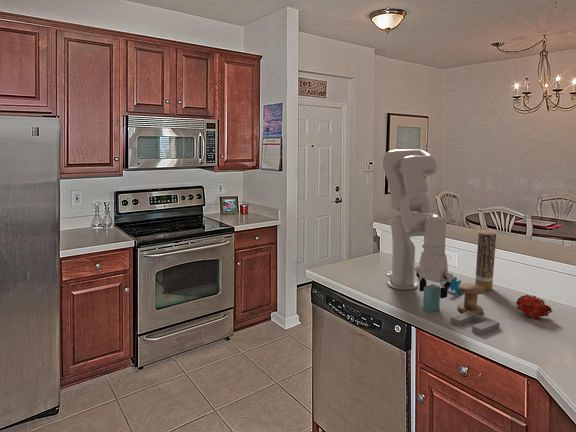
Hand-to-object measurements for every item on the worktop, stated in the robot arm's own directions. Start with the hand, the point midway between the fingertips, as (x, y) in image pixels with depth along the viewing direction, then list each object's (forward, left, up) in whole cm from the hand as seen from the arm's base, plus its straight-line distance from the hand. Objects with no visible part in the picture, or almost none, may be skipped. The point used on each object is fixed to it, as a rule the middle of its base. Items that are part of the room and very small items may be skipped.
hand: (432, 294), depth 165 cm
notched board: (+17, +1, -6) cm, 18 cm away
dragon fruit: (+24, +25, -7) cm, 36 cm away
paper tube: (-4, +37, -7) cm, 38 cm away
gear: (-8, +23, -7) cm, 26 cm away
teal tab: (-1, 0, -6) cm, 6 cm away
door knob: (+8, +11, -6) cm, 15 cm away
